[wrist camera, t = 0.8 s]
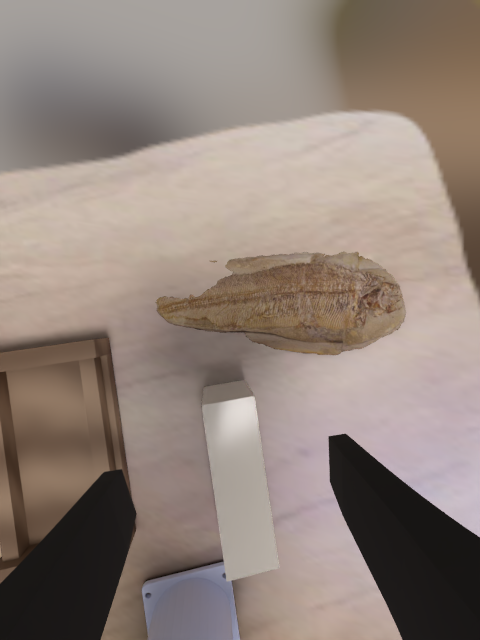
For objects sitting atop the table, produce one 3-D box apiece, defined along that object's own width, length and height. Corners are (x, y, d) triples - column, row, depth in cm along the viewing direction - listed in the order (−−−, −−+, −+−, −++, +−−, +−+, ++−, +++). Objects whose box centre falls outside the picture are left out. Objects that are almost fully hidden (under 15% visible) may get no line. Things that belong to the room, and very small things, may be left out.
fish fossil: (155, 359, 24) (152, 360, 23) (151, 256, 25) (148, 252, 24) (405, 340, 27) (414, 340, 26) (393, 247, 28) (400, 243, 27)
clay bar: (263, 510, 25) (279, 568, 19) (223, 519, 25) (226, 581, 19) (244, 379, 25) (254, 395, 19) (203, 386, 25) (201, 405, 19)
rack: (135, 530, 23) (124, 560, 20) (18, 557, 22) (-11, 593, 19) (108, 337, 24) (93, 339, 21) (-10, 354, 22) (-43, 358, 20)
